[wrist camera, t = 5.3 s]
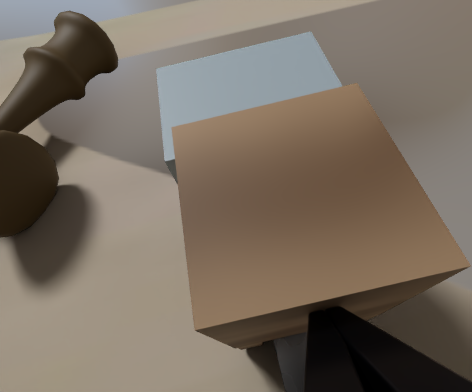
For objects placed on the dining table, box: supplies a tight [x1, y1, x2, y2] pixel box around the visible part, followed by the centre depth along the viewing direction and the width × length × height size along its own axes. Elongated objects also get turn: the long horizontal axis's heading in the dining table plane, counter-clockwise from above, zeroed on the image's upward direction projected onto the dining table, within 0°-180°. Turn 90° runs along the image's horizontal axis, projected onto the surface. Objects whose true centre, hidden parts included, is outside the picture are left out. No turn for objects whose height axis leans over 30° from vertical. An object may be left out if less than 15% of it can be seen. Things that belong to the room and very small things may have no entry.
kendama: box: [0, 11, 118, 237], centre depth 20 cm, size 6×10×20 cm
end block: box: [156, 32, 342, 184], centre depth 16 cm, size 6×8×6 cm
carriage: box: [171, 83, 470, 350], centre depth 11 cm, size 6×6×8 cm
